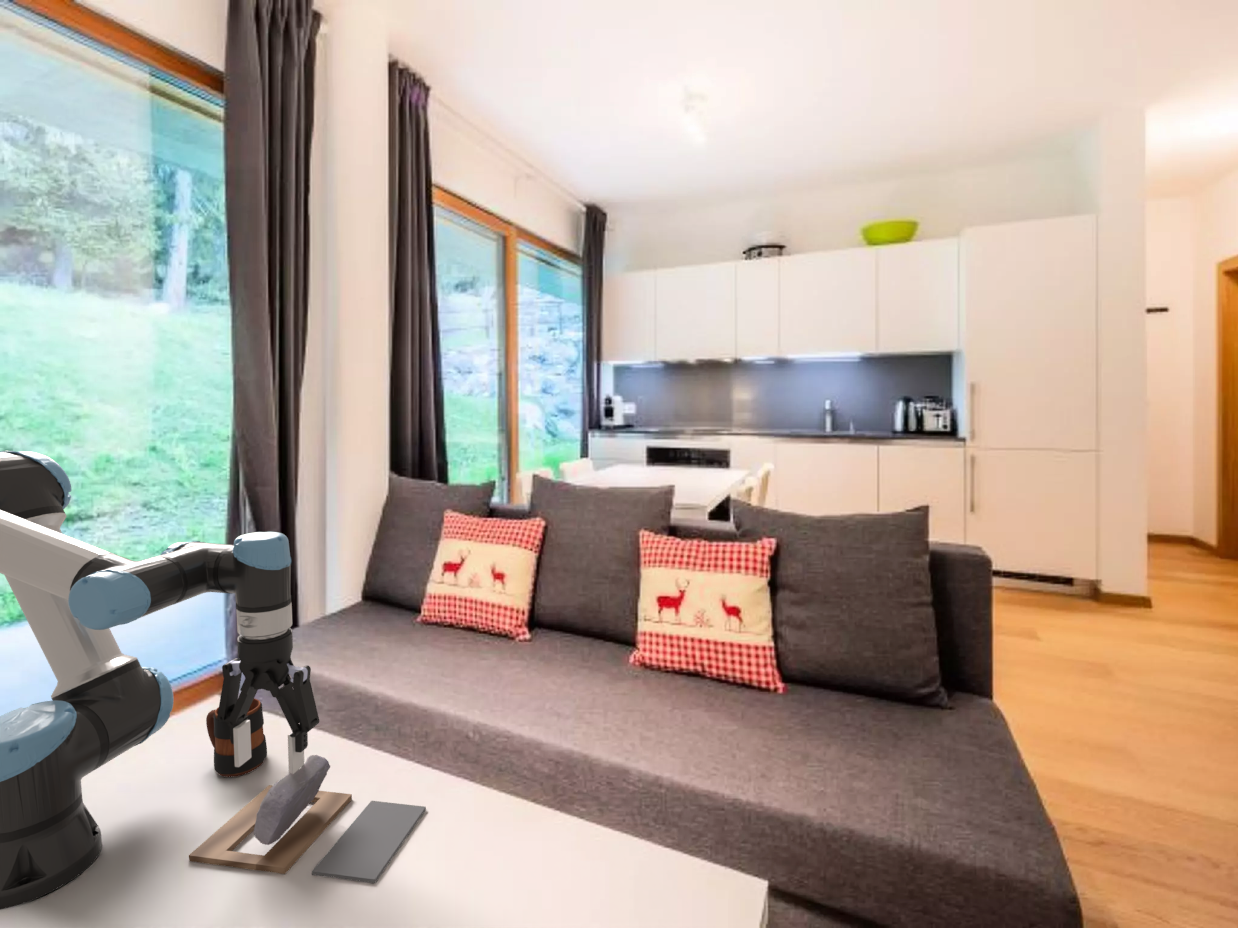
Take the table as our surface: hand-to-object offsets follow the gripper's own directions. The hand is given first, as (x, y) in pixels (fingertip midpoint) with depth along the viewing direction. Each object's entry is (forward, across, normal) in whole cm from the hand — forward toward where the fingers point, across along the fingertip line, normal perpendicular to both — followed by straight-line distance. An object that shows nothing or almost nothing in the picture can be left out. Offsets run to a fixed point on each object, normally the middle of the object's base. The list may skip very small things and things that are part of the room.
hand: (269, 765), depth 98 cm
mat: (+10, +18, 0) cm, 21 cm away
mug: (+12, -19, +15) cm, 27 cm away
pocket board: (+11, +1, 0) cm, 11 cm away
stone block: (+6, +6, -1) cm, 8 cm away
